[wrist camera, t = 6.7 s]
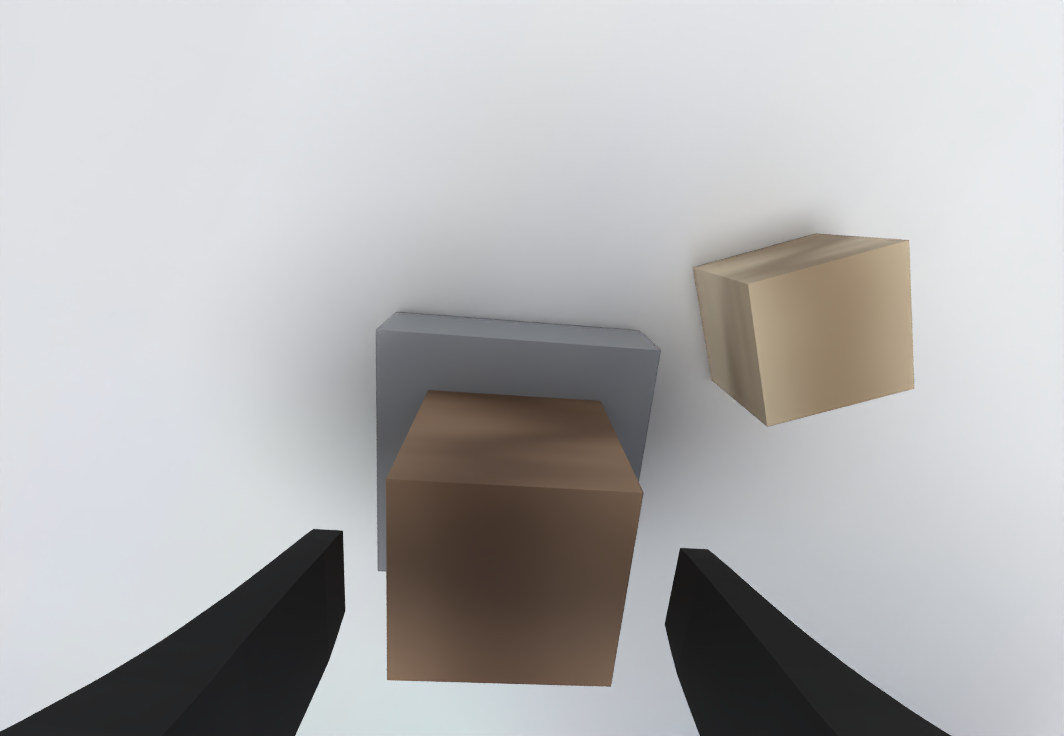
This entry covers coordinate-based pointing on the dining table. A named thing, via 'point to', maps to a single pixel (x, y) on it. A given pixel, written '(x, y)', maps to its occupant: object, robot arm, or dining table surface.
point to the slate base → (507, 376)
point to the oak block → (809, 324)
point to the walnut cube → (508, 542)
